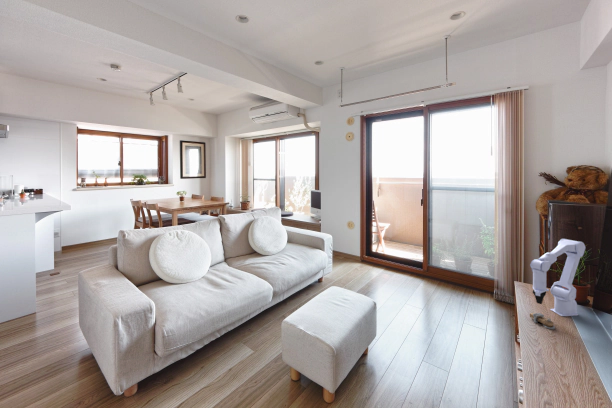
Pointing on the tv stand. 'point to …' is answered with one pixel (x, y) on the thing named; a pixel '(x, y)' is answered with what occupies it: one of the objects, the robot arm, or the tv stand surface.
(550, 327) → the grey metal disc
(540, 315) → the block
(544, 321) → the link
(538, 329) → the tv stand surface
